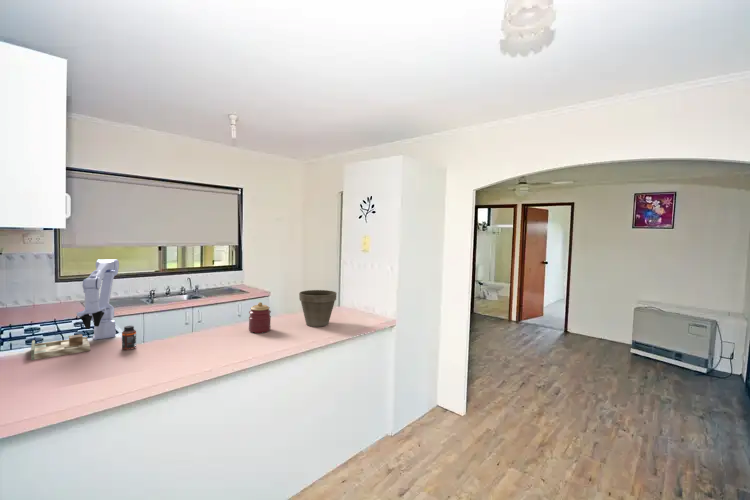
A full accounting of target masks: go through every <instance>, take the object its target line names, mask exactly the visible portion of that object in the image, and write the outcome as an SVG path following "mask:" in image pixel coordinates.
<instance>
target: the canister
mask: <svg viewBox="0 0 750 500" xmlns="http://www.w3.org/2000/svg"><path fill="white" fill-rule="evenodd" d="M271 312H272V310H270V307H269V306H268V305H267V304H263V302H261V301H260V302H258V303H257V304H256V305H255V304H254V305H253V306H252V307H250V310H249V311H248V314H249V317H248V331H250V333H252V332H255V333H254V334H263V333H262V332H265V333H268V332H270V331H271V327H272V326H271V317H272V316H271ZM269 330H270V331H269ZM267 331H268V332H267Z"/></svg>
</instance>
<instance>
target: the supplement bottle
mask: <svg viewBox="0 0 750 500" xmlns="http://www.w3.org/2000/svg"><path fill="white" fill-rule="evenodd" d="M123 328H124V329H123V330H122V332H121V347H122V348H121V349H122V350H124V351H129V350H134V349H135V347H136V348H137V330H136V329H135V326H134V325H127V326H124V327H123ZM135 345H136V346H135Z"/></svg>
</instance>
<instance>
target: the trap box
mask: <svg viewBox="0 0 750 500" xmlns="http://www.w3.org/2000/svg"><path fill="white" fill-rule="evenodd" d="M30 347H31V348H30V356H31V357H30V361H33V360H34V361H35V360H40V359H45V358H46V359H47V358H53V357H58V356H59V357H60V356H65V355H70V354H71V355H72V354H77V353H78V354H79V353H84V352H90V351H91V345H90V342H89V339H88V336H86V337H85V336H83V344H82V345H75V346H69V338H67V339H63V340H54V341H48V342H39V343H36V340H35V339H32V341H31V346H30Z"/></svg>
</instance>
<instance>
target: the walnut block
mask: <svg viewBox="0 0 750 500" xmlns="http://www.w3.org/2000/svg"><path fill="white" fill-rule="evenodd" d="M83 337H84V336H83V334H82V333H80V334H73V335H69V336H68V339H69V346H75V345H82V344H83Z"/></svg>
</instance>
